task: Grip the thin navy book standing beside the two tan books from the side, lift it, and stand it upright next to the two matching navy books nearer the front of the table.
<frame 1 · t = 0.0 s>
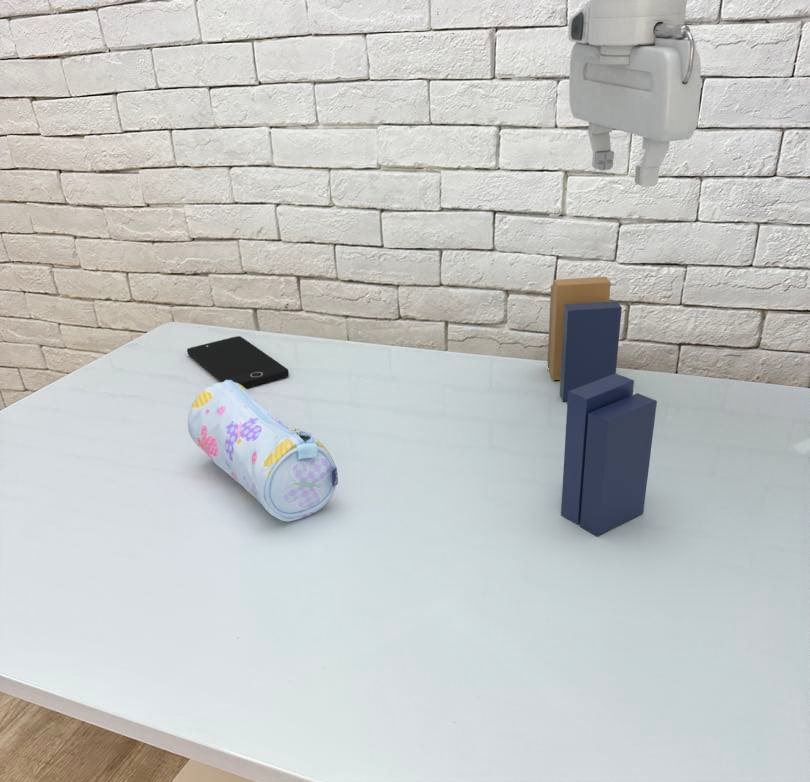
hand: (623, 176, 89), 28 cm above the table, tool pointing down, fingers open, 8 cm apart
navy book: (586, 396, 110), on the table
pencil case: (264, 486, 95), on the table
navy books: (606, 455, 83), on the table
cell phone: (236, 366, 125), on the table
tan books: (577, 327, 113), on the table
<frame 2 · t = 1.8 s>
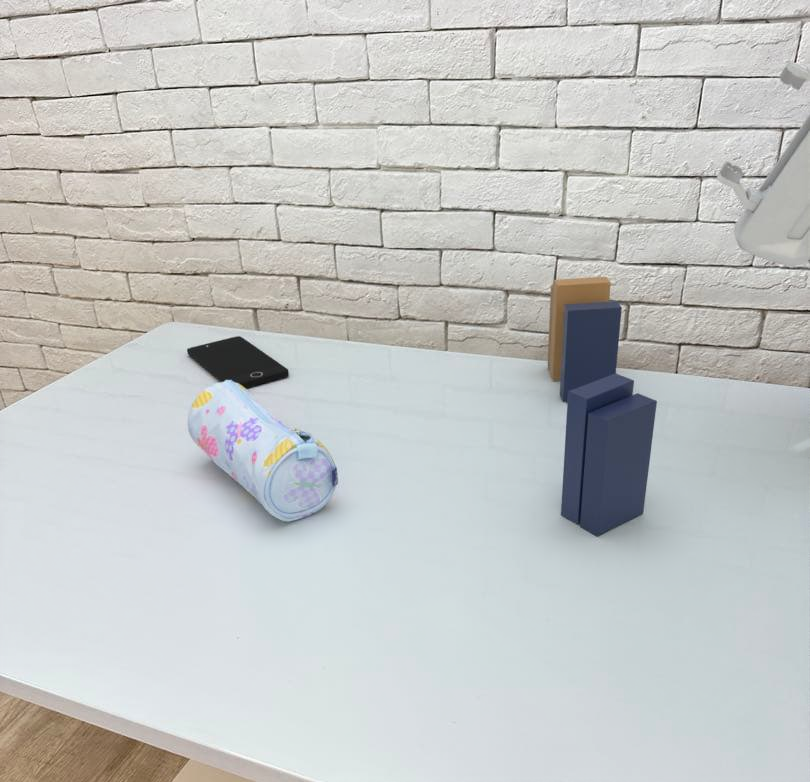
hand: (751, 122, 79), 34 cm above the table, tool pointing upward, fingers open, 8 cm apart
nothing on the table moved.
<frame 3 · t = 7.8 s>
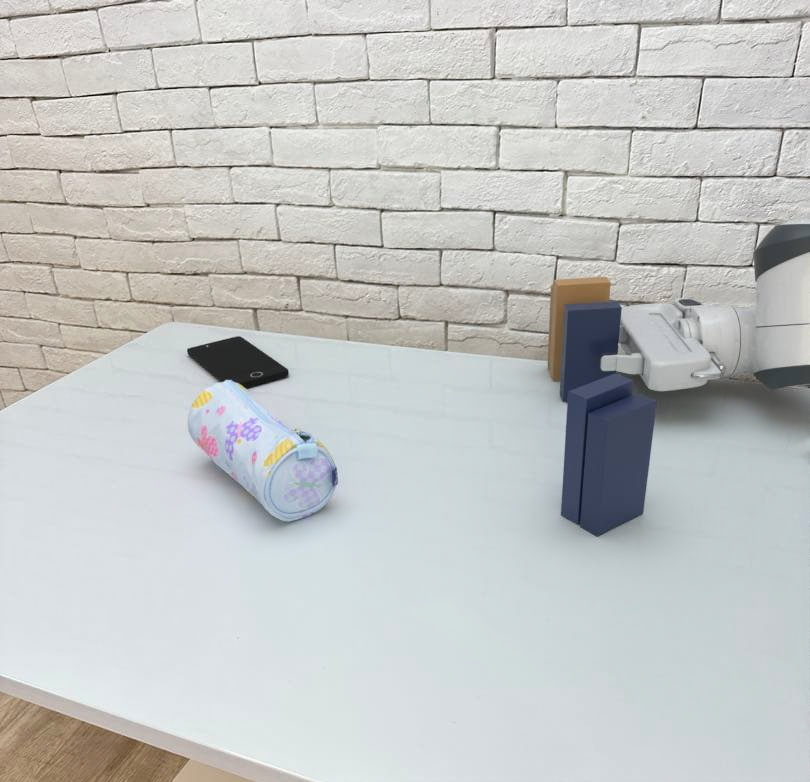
hand: (592, 349, 107), 6 cm above the table, tool horizontal, fingers open, 7 cm apart
nothing on the table moved.
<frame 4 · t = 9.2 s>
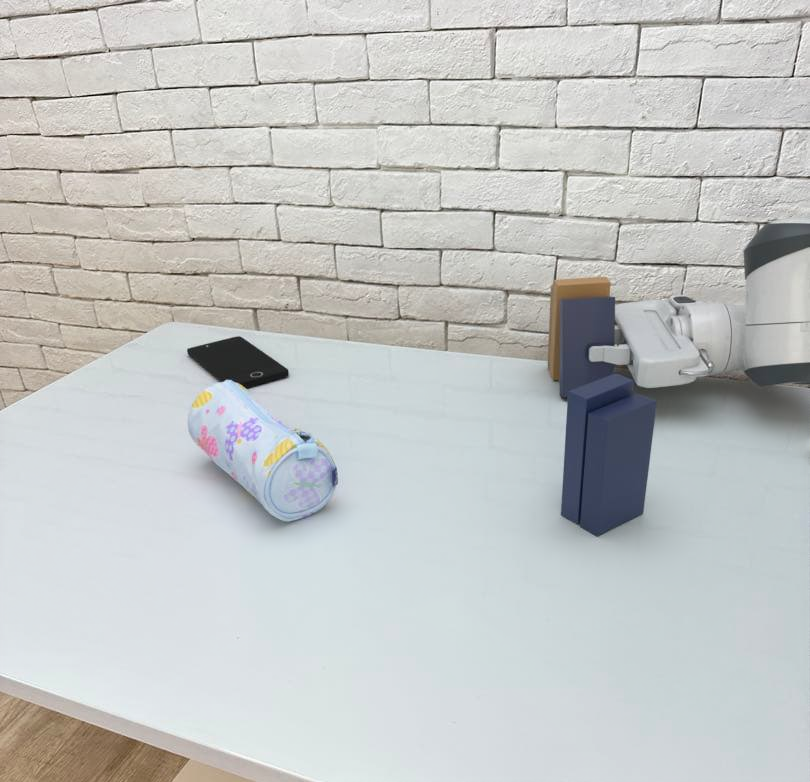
hand: (585, 346, 108), 6 cm above the table, tool horizontal, fingers closed on navy book, 3 cm apart
navy book: (586, 394, 110), on the table, tilted 16°, touching gripper
everything else where it was.
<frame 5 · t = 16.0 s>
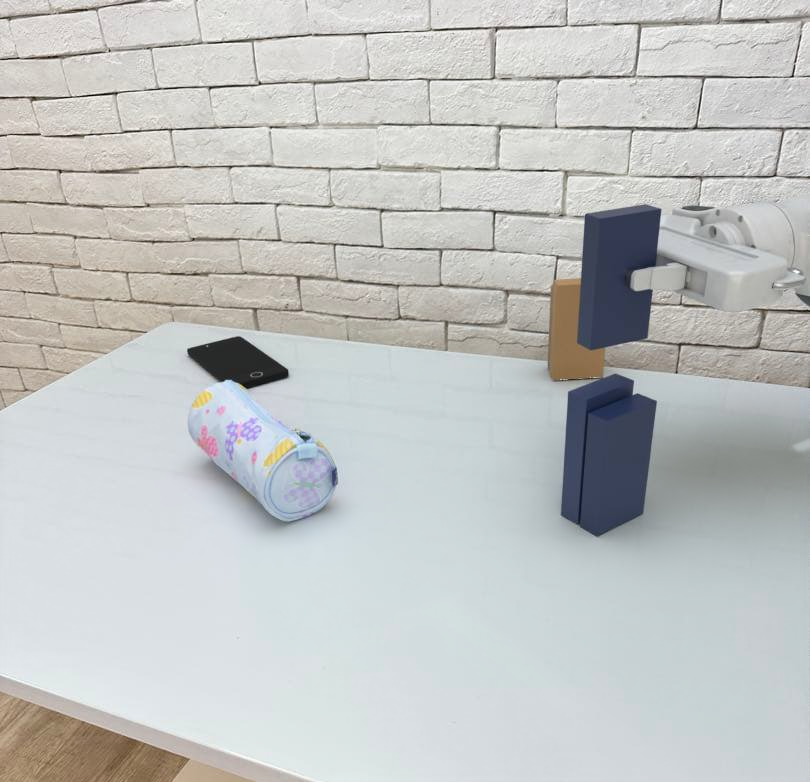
hand: (617, 275, 79), 22 cm above the table, tool horizontal, fingers closed on navy book, 2 cm apart
navy book: (612, 340, 83), point 16 cm above the table, touching gripper
everything else where it was.
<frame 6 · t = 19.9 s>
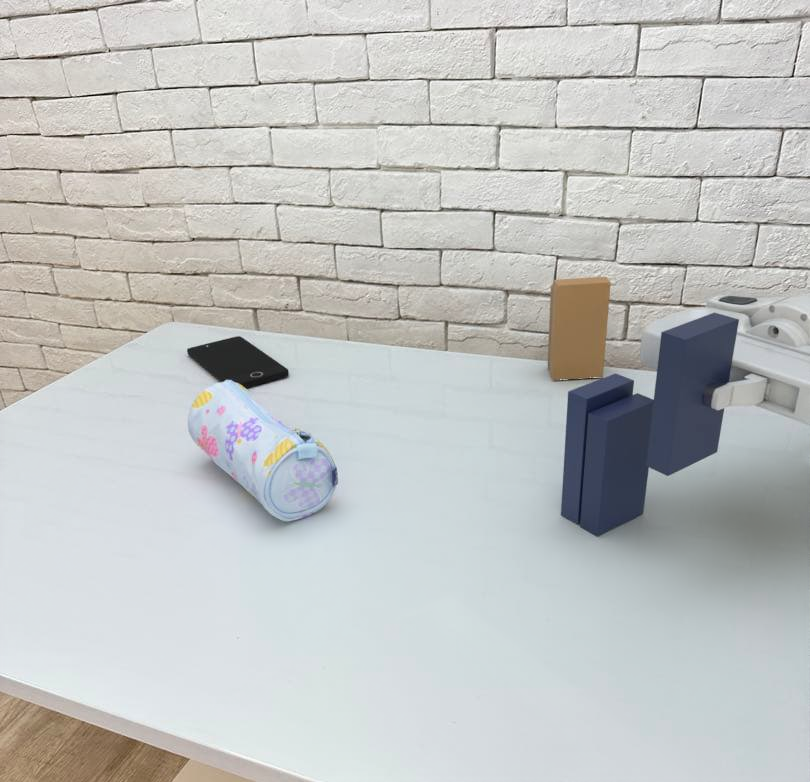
hand: (690, 392, 71), 17 cm above the table, tool horizontal, fingers closed on navy book, 2 cm apart
navy book: (681, 459, 74), point 10 cm above the table, touching gripper
everything else where it was.
when the fingers open (6 cm above the table, at t = 22.9 s): navy book stays where it is, on the table.
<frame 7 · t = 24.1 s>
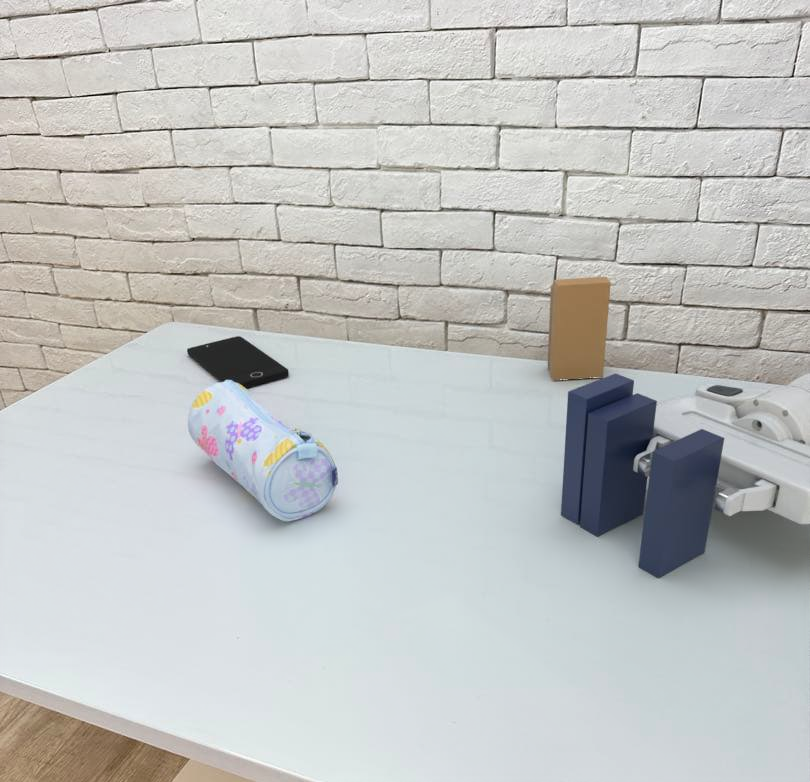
hand: (679, 485, 76), 8 cm above the table, tool horizontal, fingers open, 8 cm apart
navy book: (671, 559, 79), on the table
everything else where it was.
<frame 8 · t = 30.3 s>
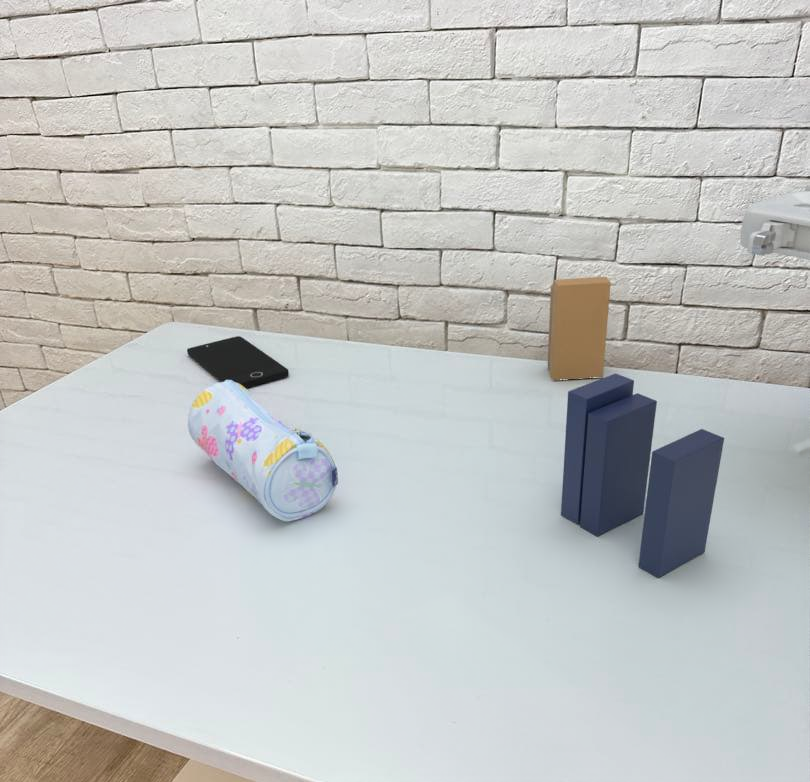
hand: (803, 254, 72), 25 cm above the table, tool horizontal, fingers open, 8 cm apart
nothing on the table moved.
at the end: navy book 1.1 cm off-centre on the navy books, point 0.0 cm above the navy books's base; navy book tilted 0°; the gripper is holding nothing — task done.
